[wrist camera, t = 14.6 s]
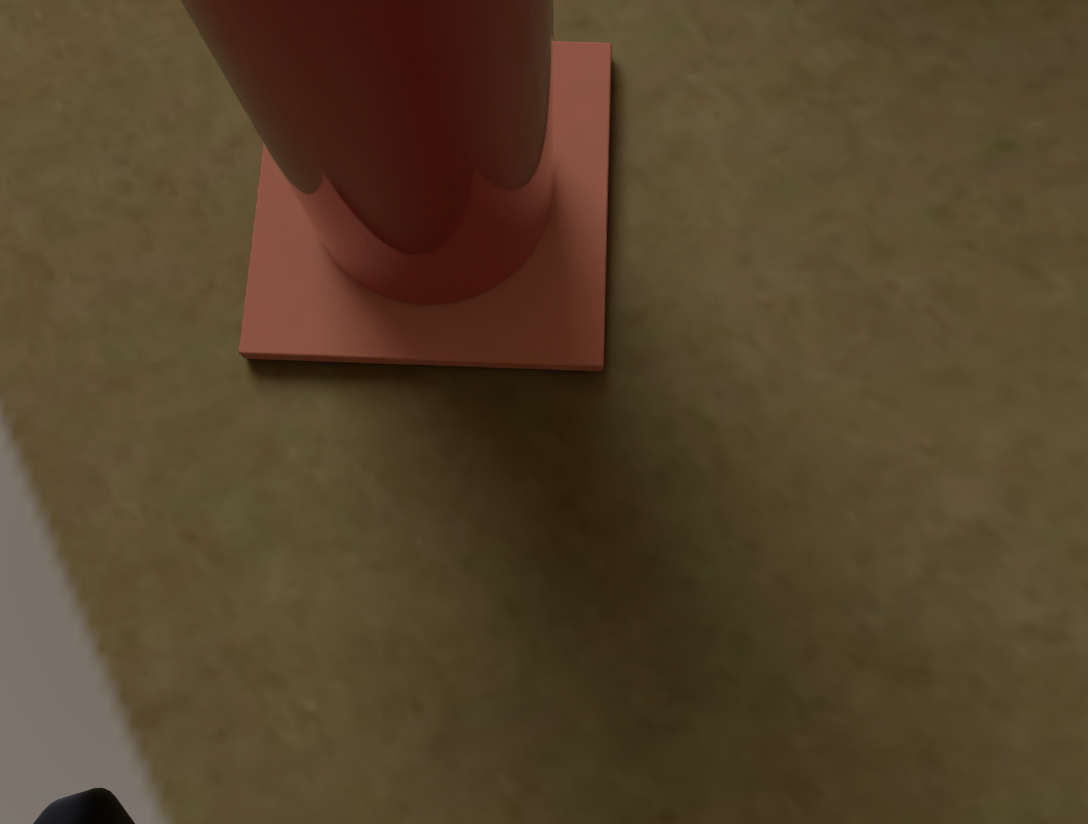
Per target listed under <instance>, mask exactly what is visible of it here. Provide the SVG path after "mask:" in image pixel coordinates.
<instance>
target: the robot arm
mask: <svg viewBox="0 0 1088 824" xmlns="http://www.w3.org/2000/svg"><path fill="white" fill-rule="evenodd" d="M34 824H135V823H134V822H133V820H132V819H131V817H130V816H129V815H128V813H127V812H126V811H125V809H124V808H123V806H122V805H121V804H120V802H119V801H118V799H117V798H116V797H115V796H114V795H113V794H112V793H111V792H110V791H109V790H107V789H104V788H94V789H91V790H88V791H84V792H81V793H78V794H74V795H71V796H68V797H64V798H61V799H58V800H56V801H55V802H53V803H52V804H50V805H49V806H48V807H47V808H46V809H45V810H44V811H43V812H42V813H41V815H40V816H39V817H38V818H37V820H36V821H35V822H34Z"/></svg>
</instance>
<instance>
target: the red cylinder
mask: <svg viewBox="0 0 1088 824" xmlns="http://www.w3.org/2000/svg"><path fill="white" fill-rule="evenodd" d="M180 1H181V2H182V4H183V6H184V7H185V9H186V11H187V12H188V14H189V16H190V18H191V19H192V21H193V23H194V24H195V26H196V28H197V30H198V31H199V33H200V35H201V36H202V38H203V40H204V42H205V43H206V45H207V47H208V48H209V50H210V52H211V54H212V55H213V57H214V59H215V60H216V62H217V64H218V65H219V67H220V69H221V71H222V72H223V74H224V76H225V77H226V79H227V81H228V83H229V84H230V86H231V88H232V89H233V91H234V93H235V95H236V96H237V98H238V100H239V101H240V103H241V105H242V107H243V108H244V110H245V112H246V113H247V115H248V117H249V119H250V120H251V122H252V124H253V125H254V127H255V129H256V130H257V132H258V134H259V136H260V137H261V139H262V141H263V142H264V144H265V146H266V148H267V149H268V151H269V153H270V154H271V156H272V158H273V160H274V161H275V163H276V165H277V166H278V168H279V170H280V172H281V173H282V175H283V177H284V178H285V180H286V182H287V183H288V185H289V187H290V189H291V190H292V192H293V194H294V195H295V197H296V199H297V201H298V202H299V204H300V206H301V207H302V209H303V211H304V213H305V214H306V216H307V218H308V219H309V221H310V223H311V225H312V226H313V228H314V230H315V231H316V233H317V235H318V237H319V238H320V240H321V242H322V243H323V245H324V247H325V248H326V250H327V252H328V254H329V255H330V256H331V257H332V259H333V260H334V261H335V263H336V264H337V265H338V266H339V267H340V268H341V269H342V270H343V271H344V272H345V273H346V274H347V275H348V276H349V277H351V278H352V279H353V280H355V281H356V282H357V283H359V284H360V285H362V286H363V287H365V288H367V289H369V290H371V291H372V292H374V293H377V294H379V295H382V296H384V297H387V298H389V299H394V300H398V301H402V302H406V303H415V304H442V303H450V302H456V301H459V300H463V299H467V298H470V297H473V296H475V295H478V294H481V293H483V292H485V291H487V290H489V289H491V288H493V287H494V286H496V285H498V284H500V283H501V282H502V281H504V280H505V279H506V278H508V277H509V276H511V275H512V274H513V273H514V272H515V271H516V270H517V269H518V268H519V267H520V266H521V265H522V264H523V263H524V262H525V261H526V260H527V258H528V257H529V256H530V255H531V254H532V252H533V251H534V249H535V248H536V246H537V244H538V243H539V241H540V239H541V237H542V235H543V233H544V231H545V228H546V226H547V223H548V219H549V216H550V212H551V206H552V199H553V0H180Z"/></svg>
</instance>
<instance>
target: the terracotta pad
mask: <svg viewBox="0 0 1088 824" xmlns="http://www.w3.org/2000/svg"><path fill="white" fill-rule="evenodd" d="M611 56H612V45H611V43H593V42H559V41H553V199H552V206H551V212H550V216H549V219H548V223H547V226H546V228H545V231H544V233H543V235H542V237H541V239H540V241H539V243H538V244H537V246H536V248H535V249H534V251H533V252H532V254H531V255H530V256H529V257H528V258H527V260H526V261H525V262H524V263H523V264H522V265H521V266H520V267H519V268H518V269H517V270H516V271H515V272H514V273H513V274H512V275H511V276H509V277H508V278H506V279H505V280H504V281H502V282H501V283H500V284H498V285H496V286H494V287H493V288H491V289H489V290H487V291H485V292H483V293H481V294H478V295H475V296H473V297H470V298H467V299H463V300H459V301H456V302H450V303H442V304H415V303H406V302H402V301H398V300H394V299H389V298H387V297H384V296H382V295H379V294H377V293H374V292H372V291H371V290H369V289H367V288H365V287H363V286H362V285H360V284H359V283H357V282H356V281H355V280H353V279H352V278H351V277H349V276H348V275H347V274H346V273H345V272H344V271H343V270H342V269H341V268H340V267H339V266H338V265H337V264H336V263H335V261H334V260H333V259H332V257H331V256H330V255H329V254H328V252H327V250H326V248H325V247H324V245H323V243H322V242H321V240H320V238H319V237H318V235H317V233H316V231H315V230H314V228H313V226H312V225H311V223H310V221H309V219H308V218H307V216H306V214H305V213H304V211H303V209H302V207H301V206H300V204H299V202H298V201H297V199H296V197H295V195H294V194H293V192H292V190H291V189H290V187H289V185H288V183H287V182H286V180H285V178H284V177H283V175H282V173H281V172H280V170H279V168H278V166H277V165H276V163H275V161H274V160H273V158H272V156H271V154H270V153H269V151H268V149H267V148H266V146H265V144H264V146H263V154H262V162H261V171H260V179H259V188H258V196H257V204H256V213H255V221H254V229H253V238H252V246H251V254H250V263H249V271H248V279H247V288H246V296H245V304H244V313H243V321H242V330H241V338H240V346H239V354H241V355H242V356H243V357H244V358H246V359H267V360H295V361H323V362H352V363H380V364H408V365H436V366H464V367H493V368H521V369H549V370H577V371H602V370H603V365H604V332H605V293H606V253H607V214H608V174H609V135H610V95H611Z"/></svg>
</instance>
